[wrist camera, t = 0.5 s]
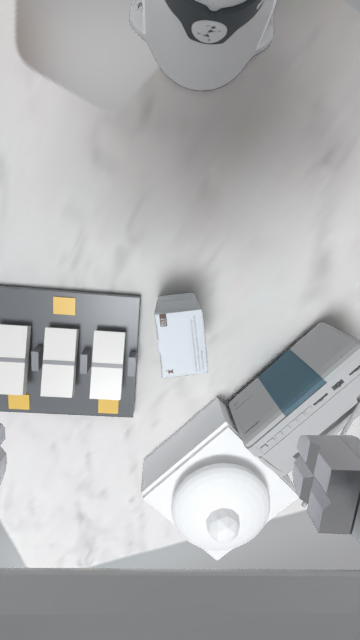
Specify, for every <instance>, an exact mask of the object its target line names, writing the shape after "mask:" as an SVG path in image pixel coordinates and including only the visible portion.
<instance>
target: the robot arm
mask: <svg viewBox="0 0 360 640" xmlns="http://www.w3.org/2000/svg"><path fill="white" fill-rule="evenodd" d="M276 1H277V0H132V4H131V9H130V15H129V22H130V25H131V27H132V29H133V30H134V31H135V32H136V33H137V34H138V35H139V36H140V37H141V38H142V39H143V40H144V41H145V42H146V43H147V44H148V46H149V48H150V50H151V52H152V54H153V56H154V58H155V60H156V62H157V63H158V65H159V67H160V68H161V69H162V70H163V72H164V73H165V74H166V75H167V76H168V77H169V78H170V79H172V80H173V81H174V82H176V83H177V84H179V85H181V86H183V87H186V88H189V89H192V90H200V91H205V90H212V89H216V88H219V87H221V86H224V85H225V84H227V83H229V82H230V81H232V80H233V79H234V78H235V77H236V76H237V75H238V74H239V73H240V72H241V71H242V70H243V68H244V67H245V66H246V64H247V63H248V61H249V60H250V59H251V58H252V57H253V56H255V55H256V54H258V53H260V52H262V51H263V50H265V49H266V48H267V47H268V46H269V45H270V44H271V41H272V39H273V35H274V23H273V10H274V8H275V5H276ZM140 6H142V9H143V10H142V11H141V10H139V9H138V8H139V7H140ZM4 440H5V427H4V426H3V425H2V423H0V445H1V444H2V442H3V441H4ZM297 450H298V452H299V453H300V456H299V458H298V459H297V460H296V461H295V462H294V466H293V483H294V487H295V490H296V492H297V494H298V496H299V498H300V499H301V500H303V501H304V502H305V503H307V504H308V508H307V513H308V515H309V517H310V518H311V520H312V522H313V524H314V526H315V528H316V529H317V531H318V533H332V534H352V537H353V538H354V539H355V540H356V541H358V542H359V543H360V440H359V439H358V438H357V437H355V436H352V435H301V436H300V438H299V439H298V443H297ZM6 462H7V461H6V452H5V451H4V450H3V449H2V448H1V446H0V484H1V482H2V479H3V476H4V474H5V470H6ZM0 640H360V570H295V569H294V570H293V569H292V570H290V569H118V568H117V569H115V568H113V569H111V568H98V569H97V568H0Z"/></svg>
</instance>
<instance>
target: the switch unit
mask: <svg viewBox="0 0 360 640" xmlns="http://www.w3.org/2000/svg"><path fill="white" fill-rule="evenodd" d="M139 312H140V296H138V295H125V294H111V293H98V292H84V291H71V290H57V289H44V288H30V287H17V286H3V285H0V324H8V325H23V326H31V334H30V348H29V362H28V376H27V390H26V394H24V395H6V394H0V411H4V412H25V413H47V414H68V415H90V416H111V417H133V413H134V399H135V381H136V364H137V347H138V329H139ZM45 327H53V328H68V329H79V336H78V350H77V364H76V379H75V393H74V396H73V397H72V398H65V397H45V396H40V394H41V380H42V365H43V364H42V363H43V351H44V337H45ZM95 330H99V331H114V332H126V338H125V352H124V367H123V381H122V395H121V400H105V399H89V397H90V383H91V368H92V354H93V340H94V331H95Z"/></svg>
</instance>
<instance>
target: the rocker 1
mask: <svg viewBox="0 0 360 640" xmlns="http://www.w3.org/2000/svg"><path fill="white" fill-rule="evenodd" d="M30 334H31V326H23V325H8V324H0V394H6V395H24V394H26V390H27V376H28V362H29V348H30Z"/></svg>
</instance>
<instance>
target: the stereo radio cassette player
mask: <svg viewBox="0 0 360 640" xmlns="http://www.w3.org/2000/svg"><path fill="white" fill-rule="evenodd" d="M229 408H230V411H231V413H232V416H233V419H234V421H235V424H236V426H237V429H238V431H239V434H240V436H241V439H242V441H243V444H244V446H245V448H246V449H248V450H249V451H250V452H251V453H252V454H253V455H254V456H255V457H258V458H259V460H260V461H261V462H262V463H263V464H265V465H266V466H267V467H269V468H270V469H271V470H272V471H274V472H275V473H276V474H278V475H279V476H286V475H287V474H288V473H289V472H290V471H292V470H293V466H294V462H295V461H296V460H297V459H298V458H299V456H300V453H299V452H298V450H297V443H298V439H299V438H300V436H301V435H336V434H337V433H338V432H339V431H340V430H342V429H343V428H344V429H343V431H342V432H341V434H340V435H345V434H346V432H347V430H348V429H349V427H350V425H351V423H352V421H353V420H354V419H355V418H356V417H358V416H359V415H360V341H359V340H358V339H356V338H354V337H352V336H350V335H348V334H346V333H344V332H343V331H341V330H339V329H337V328H335V327H333V326H331V325H329V324H326V323H324V322H320V323H318V324H317V325H316V326H315V327H314V328H313V329H312V330H311V331H309V332H308V333H307V334H306V335H305V336H304V337H303V338H301V339H300V340H299V341H298V342H297V343H296V344H295V345H294V346H292V347H291V348H290V349H289V350H288V351H287V352H285V353H284V354H283V355H282V356H281V357H280V358H279V359H278V360H276V361H275V362H274V363H273V364H272V365H271V366H270V367H268V368H267V369H266V370H265V371H264V372H263V373H262V374H261V375H259V376H258V377H257V378H256V379H255V380H254V381H253V382H252V383H250V384H249V385H248V386H247V387H246V388H245V389H244V390H242V391H241V392H240V393H239V394H238V395H237V396H236V397H235V398H233V399H232V400H231V401H230V403H229ZM306 505H307V504H306V503H305V502H303V503H302V506H303V507H306Z"/></svg>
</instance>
